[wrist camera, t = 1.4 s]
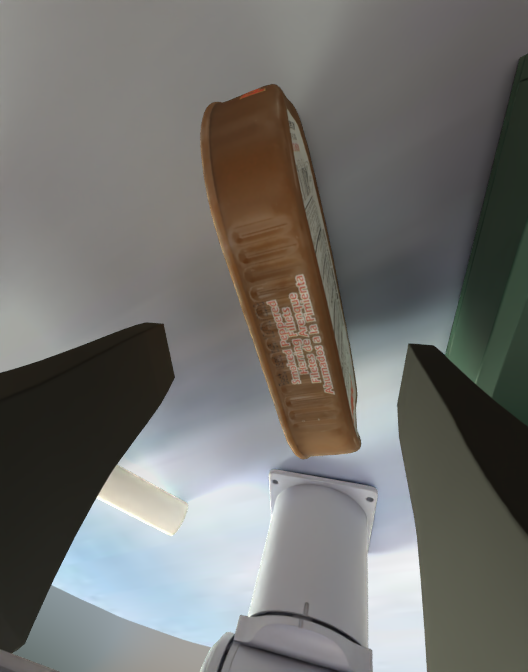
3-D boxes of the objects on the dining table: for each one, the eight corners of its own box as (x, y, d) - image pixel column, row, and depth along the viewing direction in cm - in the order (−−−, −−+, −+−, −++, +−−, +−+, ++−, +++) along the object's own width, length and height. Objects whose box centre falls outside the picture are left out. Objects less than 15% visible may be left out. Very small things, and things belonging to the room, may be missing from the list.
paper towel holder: (-353, 287, 17) (188, 558, 25) (-149, 232, 24) (219, 456, 32) (-306, 385, 22) (134, 585, 30) (-148, 315, 29) (172, 492, 37)
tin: (244, 115, 15) (142, 92, 8) (312, 88, 14) (261, 36, 7) (316, 384, 22) (292, 502, 15) (367, 379, 21) (369, 505, 13)
